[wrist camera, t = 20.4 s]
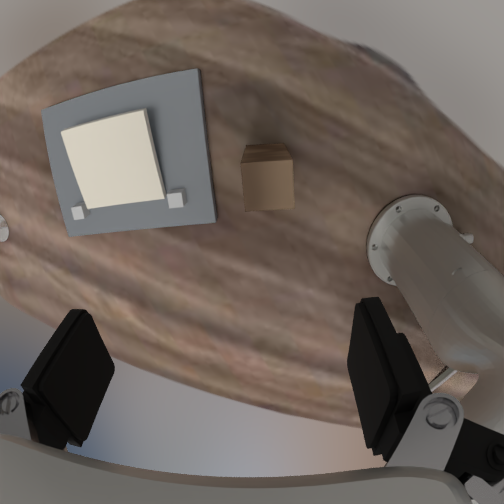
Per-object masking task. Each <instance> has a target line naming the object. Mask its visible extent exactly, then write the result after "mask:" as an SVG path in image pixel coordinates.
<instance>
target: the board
mask: <svg viewBox="0 0 504 504" xmlns="http://www.w3.org/2000/svg"><path fill="white" fill-rule="evenodd" d="M144 108H146V110H147V115H148V119H149V124H150V128H151V133H152V137H153V142H154V146H155V150H156V155H157V159H158V163H159V167H160V171H161V175H162V179H163V183H164V187H165V191H166V197H165V199H159V200H151V201H143V202H135V203H127V204H119V205H112V206H105V207H98V208H91V209H87V206H86V204H85V201H84V199H83V196H82V194H81V191H80V188H79V185H78V183H77V180H76V177H75V174H74V172H73V169H72V166H71V163H70V160H69V157H68V154H67V151H66V148H65V145H64V141H63V138H62V135H61V131H62V130H64V129H66V128H69V127H72V126H76V125H79V124H83V123H86V122H90V121H93V120H97V119H101V118H105V117H109V116H113V115H117V114H121V113H125V112H130V111H134V110H139V109H144ZM41 113H42V120H43V127H44V133H45V139H46V145H47V150H48V155H49V161H50V165H51V170H52V175H53V179H54V184H55V188H56V192H57V196H58V200H59V204H60V208H61V211H62V215H63V219H64V222H65V225H66V229H67V232H68V236H69V237H72V236H81V235H90V234H99V233H108V232H118V231H128V230H138V229H148V228H159V227H170V226H182V225H194V224H206V223H216V221H217V211H216V203H215V195H214V188H213V180H212V172H211V164H210V155H209V147H208V138H207V130H206V121H205V112H204V103H203V93H202V84H201V74H200V70H199V69H191V70H185V71H179V72H174V73H168V74H163V75H158V76H154V77H149V78H145V79H140V80H136V81H132V82H128V83H124V84H120V85H116V86H113V87H109V88H106V89H102V90H99V91H95V92H92V93H89V94H86V95H83V96H79V97H76V98H73V99H71V100H68V101H65V102H62V103H59V104H56V105H54V106H51V107H48V108H46V109H43V110H41Z"/></svg>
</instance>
